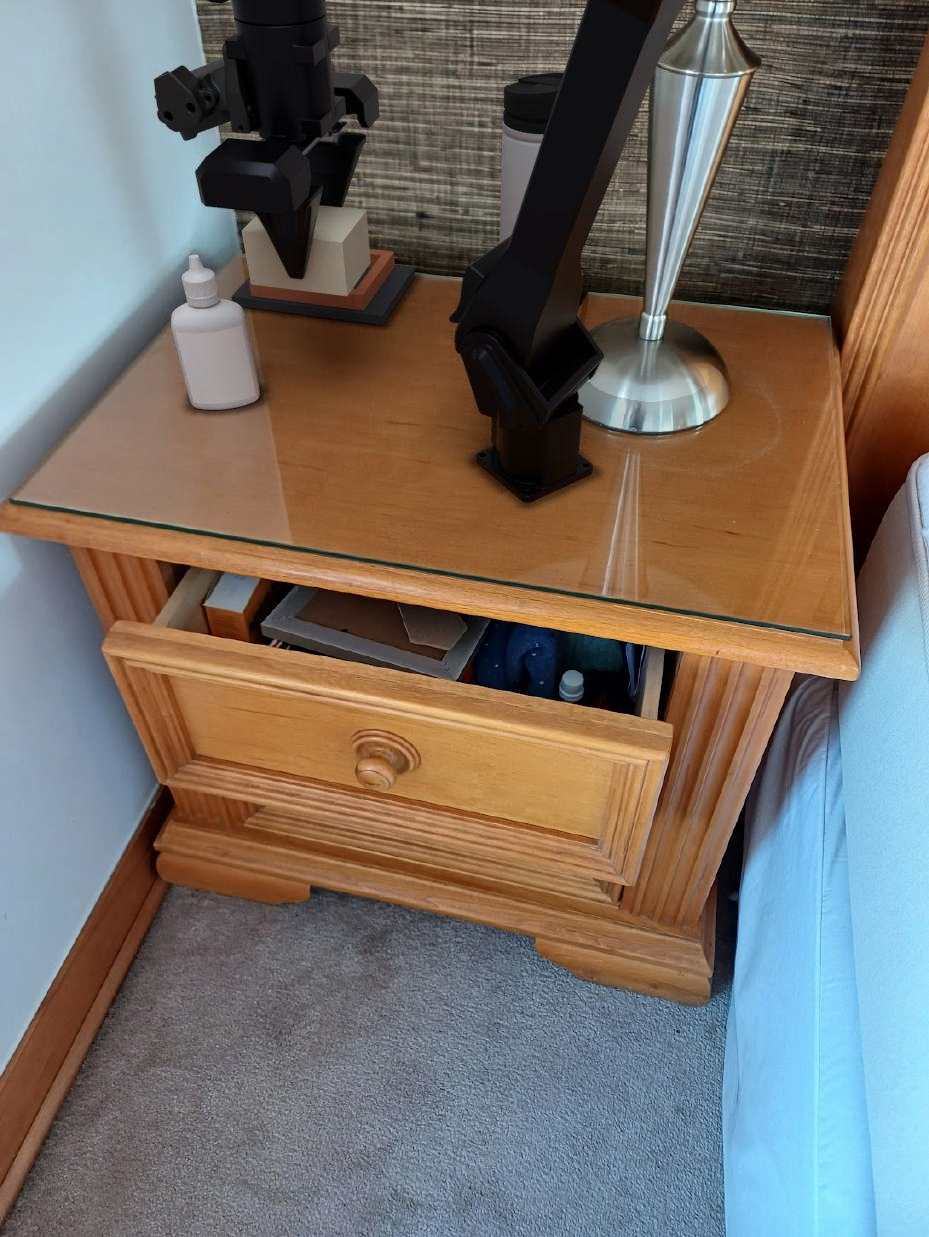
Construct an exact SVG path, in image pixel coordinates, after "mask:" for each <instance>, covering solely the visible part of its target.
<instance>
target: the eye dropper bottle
mask: <svg viewBox="0 0 929 1237" xmlns="http://www.w3.org/2000/svg"><path fill="white" fill-rule="evenodd" d="M181 282H182V286H183V290H184V295H185V298H186V302H185V303H183V304H181V305H179V306H178V307H176V308H175V309H174V310H173V311H172V313H171V316H170V326H171V332H172V336H173V340H174V344H175V348H176V351H177V356H178V360H179V364H180V368H181V371H182V375H183V379H184V382H185V386H186V391H187V394H188V399H189V402H190V403H191V405H192V407H193V408H196V409H200V410H206V411H207V410H209V411H221V410H231V409H235V408H240V407H244V406H247V405H251V404H253V403H255V402H257V401H258V399H259V397H260V395H261V393H260V385H259V378H258V374H257V373H258V372H257V369H256V364H255V358H254V354H253V349H252V343H251V338H250V333H249V328H248V323H247V318H246V314H245V311H244V307H241V306H240V305H239V304H237V303H235V302H233V301H232V300H229V299H226V298H221V297H220V292H219V287H218V283H217V278H216V274H215V271H214V270H212V269H211V268H208V267H204V265H203V263H202V261H201V258H200V256H199V255H198V254H190V255H189V256H188V270H186V271H185V272H183V273H182V275H181Z"/></svg>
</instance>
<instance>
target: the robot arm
mask: <svg viewBox="0 0 929 1237" xmlns="http://www.w3.org/2000/svg"><path fill="white" fill-rule="evenodd" d="M199 1H201V2H207V3H211V4H225V3H227V2H229V0H199ZM688 1H689V0H586V3H585V6H584V10H583V13H582V16H581V18H580V22H579V25H578V29H577V31H576V34H575V38H574V41H573V43H572V47H571V50H570V53H569V56H568V59H567V62H566V64H565V69H564V71H563V73H564V74H563V77H562V80H561V83H560V86H559V90H558V93H557V96H556V99H555V102H554V105H553V108H552V111H551V114H550V117H549V120H548V123H547V127H546V130H545V133H544V136H543V139H542V142H541V145H540V148H539V151H538V154H537V157H536V160H535V164H534V167H533V170H532V173H531V176H530V179H529V182H528V185H527V188H526V191H525V194H524V197H523V201H522V204H521V207H520V210H519V213H518V216H517V219H516V222H515V225H514V228H513V231H512V234H511V236H509V237H508V238H506V239H505V240H504V241H502V242H501V243H500V242H499V243H498V244H497V245H495V246H494V247H492V249H489V250H488V251H487V252H486V253H484V254H483V255H481V256H480V257H479V258H477V259H476V260H475V261H473V262H472V263H470V264H469V265H468V266H466V269H465V271H464V273H463V277H462V279H461V280H462V281H461V282H462V283H461V289H460V297H459V301H458V304H457V307H456V308H455V311H454V312H453V313H452V314H450V316H449V318H448V320H449V322H450V323H452V324H453V323H454V324H457V325H456V327H455V329H454V339H453V342H454V349H455V352H456V353H457V354H458V355H459V356H460V358H461V360H462V363H463V366H464V369H465V372H466V376H467V378H468V382H469V385H470V388H471V391H472V394H473V397H474V401H475V404H476V408H477V410H478V412H479V414H480V415H482V416H485V417H488V418H490V419H491V428H490V429H491V432H490V433H491V434H490V438H491V439H490V442H491V443H492V446H490V447H487V448H485V449H483V450H480V451H478V452H476V455H475V461H476V462H477V463H478V464H479V465H481V467H482V468H484V469H485V470H486V471H488V473H490V474H491V475H492V476H493V477H494V478H496V479H497V480H498V481H499V482H501V484H503V485H504V486H505V487H506V488H508V490H510V491H511V492H512V493H514V494H515V495H516V496H517V497H518V498H519V499H521V500H522V501H524V502H532V501H533V500H535V499H538V498H540V497H542V496H544V495H546V494H548V493H551V492H553V491H555V490H557V489H560V488H561V487H564V486H566V485H568V484H570V483H573V482H574V481H577V480H578V479H581V478H583V477H585V476H588V475H589V474H591V473H592V472H593V470H594V469H593V468H594V465H593V463H592V462H591V461H589V460H587V458H585V457H584V456H583V455H581V454H580V445H581V436H582V435H581V434H582V425H583V424H582V423H583V416H584V405H583V404H581V403H580V402H579V398H580V396H579V395H580V394H579V392H578V391H579V390H581V388H582V387H583V386H584V385H585V384H586V383H587V382H588V381H590V380H592V379H593V378H594V377H595V375H596V373H598V370H599V368H600V366H601V364H602V363H603V361H604V359H605V354H604V352H603V351H602V349H601V347H600V346H599V345H598V343H597V342H596V341H595V338H594V337H593V336H592V335H591V333H590V332H589V331H588V330H589V329H587V327H586V326H585V324H584V323H583V322H582V320H581V319H580V317H579V316H578V313H579V308H580V303H581V299H582V294H583V290H584V289H583V288H584V287H583V286H584V285H583V276H582V275H583V274H582V265H581V264H582V263H581V261H582V260H581V259H582V253H583V250H584V247H585V245H586V244H587V243H586V242H587V241H588V238H589V235H590V233H591V230H592V229H593V228H592V227H593V225H594V223H595V220H596V218H597V215H598V213H599V210H600V208H601V205H602V203H603V201H604V199H605V198H604V197H606V196H605V195H606V194H607V190H608V188H609V186H610V183H611V181H612V178H613V176H614V173H615V171H616V168H617V165H618V164H619V161H620V159H621V157H622V153H623V150H624V148H625V146H626V143H627V141H628V138H629V136H630V133H631V131H632V129H633V126H634V124H635V122H636V119H637V116H638V113H639V111H640V109H641V106H642V103H643V101H644V98H645V96H646V93H647V92H648V89H649V86H650V84H651V81H652V79H653V77H654V73H655V71H656V69H657V66H658V64H659V61H660V58H661V56H662V54H663V51H664V48H665V46H666V44H667V41H668V39H669V36H670V34H671V31H672V29H673V27H674V24H675V22H676V20H677V18H678V16H679V15H680V13H681V11H682V10H683V8H684V6H685V5H686V4H687V2H688ZM230 3H231V9H232V15H233V21H234V28H235V33H233V34H232V35H230V36H229V37H227V38H226V39H224V43H223V44H222V46H221V53H222V58H219V59H217V60H214V61H212V62H208V63H207V64H204V65H201V66H200V67H199V66H198V67H196V68H195V69H192V70H190V69H189V68H187V66H186V65H183V64H182V65H181V64H180V65H178V66H177V67H175V69H173V70H170V71H169V70H166V71H164V72H162V73H161V74H160V75H158V76H157V77H155V78H153V86H154V94H155V95H154V99H155V102H156V108H157V111H156V116H157V119H158V120H159V122H160V123H161V124H164V125H165V126H166V128H167V129H169V130H170V131H172V132H174V133H179V134H180V136H181V138H182V141H184V142H188V141H190V140H194V139H196V138H197V137H198V135H199V134H200V133H203V132H205V131H208V130H211V129H214V128H217V127H219V126H222V125H226V124H227V123H230V127H231V132H232V133H236V134H239V133H240V134H248V135H249V134H251V132H257V133H258V137H259V138H260V140H255V139H245V138H235V137H234V138H233V137H227V138H226V139H225V140H224V141H222V143H220V144H219V145H218V146H216V148H214V149H213V150H212V151H211V152H210V153H208V154H207V155H206V156H204V158H203V159H202V161H201V162H200V164H199V165H198V166H197V167H196V169H195V171H194V174H195V181H196V184H197V189H198V190H197V191H198V193H199V199H200V202H201V204H202V205H203V206H204V207H206V208H215V209H225V210H235V211H242V212H243V211H244V212H251V213H252V212H253V213H254V214H255V216H256V215H257V217H258V218H259V220H260V222H261V223H262V225H263V227H264V228H265V230H266V232H267V234H268V236H269V238H270V240H271V242H272V244H273V246H274V248H275V250H276V252H277V254H278V256H279V258H280V260H281V262H282V264H283V266H284V268H285V270H286V272H287V274H288V276H289V277H290V278H292V279H300V280H301V279H303V278H304V277H305V273H306V269H307V265H308V260H309V256H310V251H311V246H312V240H313V235H314V230H315V225H316V220H317V215H318V210H319V205H322V206H331V207H340V208H344V205H345V201H346V198H347V195H348V193H349V189H350V186H351V183H352V181H353V178H354V175H355V171H356V169H357V165H358V162H359V159H360V157H361V153H362V151H363V148H364V145H365V144H366V142H367V135H366V134H365V133H364V132H363V133H362V132H353V131H349V130H348V122H347V121H342V118H343V117H344V116H352V115H355V116H356V120H357V123H358V124H359V127H360V128H362V129H370V128H371V127H372V126H373V125H374V123H375V122H376V121H377V120H378V119H379V118H380V114H381V113H380V102H379V101H380V100H379V99H380V98H379V88H378V87H377V86H376V85H375V84H374V83H373V81H371V79H370V78H369V77H368V75H366V73H354V72H341V71H333V65H332V54H331V52H332V51H334V50H335V49H336V48H337V47H338V46H340V45H341V37H340V27H339V26H340V25H335V24H329V21H328V12H327V1H326V0H230Z"/></svg>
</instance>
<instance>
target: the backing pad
mask: <svg viewBox="0 0 929 1237" xmlns="http://www.w3.org/2000/svg"><path fill="white" fill-rule="evenodd" d="M369 249H370V262H371V263H370V264H369V266H368V267H367V269H366V270H365V272H364V273H363V274H362V276H361V277H360V279H359V280H358V282H357V283H356V285H355V286H354V287H353V289H352V290H351V292H350V293H349V295H348V296H341V295H332V294H324V293H316V292H308V291H300V290H292V289H284V288H275V287H267V286H259V285H252V284H251V281H250V276H248V277H247V279H246V280H245V281H244V282H243V283H242V284H241V285H240V286H239V287H238V289H237V290H236V291H235V292H234V293H233V294H232V295H231V301H233V302H235V303H237V304H239V305H240V306H241V307H242V308H247V309H248V308H249V309H256V310H262V311H263V310H264V311H269V312H270V311H271V312H278V313H285V314H286V313H287V314H294V315H300V316H301V315H302V316H310V317H315V318H316V317H317V318H324V319H325V318H326V319H331V320H341V321H347V322H355V323H363V324H371V325H379V326H384V324H385V323H386V322H387V320H388V318H389V317H390V315H391V314H392V313H393V311H394V309H395V308H396V306H397V305H398V303H399V301H400V300H401V298H402V297H403V295H405V292H406V291H407V289H408V288H409V286H411V284H412V282H413V280H414V279H415V277H416V270H415V267H414V266H406V265H398V264H396V263H395V261H396V260H395V252H394V251H390V250H382V249H372V248H369Z"/></svg>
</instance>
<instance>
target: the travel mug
mask: <svg viewBox="0 0 929 1237" xmlns="http://www.w3.org/2000/svg"><path fill="white" fill-rule="evenodd" d="M563 74H564V72H545V73H538V74H537V73H536V74H531V75H526V76H523V77H519V78H518V79H517V82H513V83H510V84H506V85H505V86H504V87H503V106H502V107H503V113H502V120H501V121H502V122H501V123H502V124H501V126H502V131H501V165H500V206H499V207H500V208H499V209H500V210H499V211H500V212H499V244H500V243H501V242H502V241H504V240H505V239H506V238H508V237H509V236H511V234H512V231H513V228H514V225H515V222H516V219H517V216H518V213H519V210H520V207H521V204H522V201H523V197H524V194H525V191H526V188H527V185H528V182H529V179H530V176H531V173H532V170H533V167H534V164H535V160H536V157H537V154H538V151H539V148H540V145H541V142H542V139H543V136H544V133H545V130H546V127H547V123H548V120H549V117H550V114H551V111H552V108H553V105H554V102H555V99H556V96H557V93H558V90H559V86H560V83H561V80H562V77H563Z"/></svg>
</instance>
